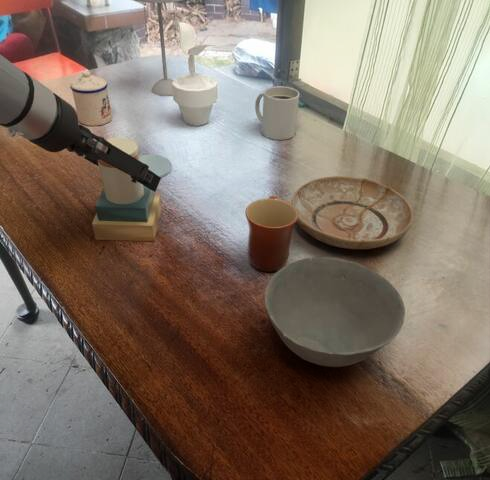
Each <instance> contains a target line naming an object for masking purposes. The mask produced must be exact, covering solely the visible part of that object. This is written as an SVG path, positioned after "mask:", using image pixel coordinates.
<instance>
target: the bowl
mask: <svg viewBox="0 0 490 480" xmlns="http://www.w3.org/2000/svg"><path fill="white" fill-rule="evenodd" d="M264 307H265V310H266V313H267V315H268V318H269V320H270V323H271V324H272V326H273V328H274V330H275V332H276V333H277V335H278V336H279V338H280V340H282V342H283V343H284V344H285V346H286V347H287V348H288V349H289V350H290V351H291V352H293V353H294V354H295V355H296V356H298V357H299V358H301V359H302V360H304V361H306V362H308V363H311V364H313V365H314V364H315V365H316V366H321V367H328V368H329V367H330V368H341V367H347V366H352V365H355V364H358V363H360V362H362V361H364V360H366V359H368V358H369V357H371V356H373V355H374V354H376V353H377V352H378V351H380V350H381V349H383V348H385V347H386V346H387V345H388V344H390V343H391V342H392V341H393V340H394V339H395V338H396V337H397V336H398V335H399V333H400V332H401V329H402V327H403V326H404V322H405V317H406V307H405V303H404V300H403V299H402V297H401V293H399V292H398V290H397V289H396V287H394V285H393V284H392V283H391V282H390V281H389V280H387V279H386V278H385V277H383V275H381V274H379V273H378V272H376V271H374V270H373V269H371V268H369V267H368V266H365V265H363V264H362V263H358V262H356V261H351V260H348V259H345V258H339V257H333V256H332V257H330V256H329V257H328V256H315V257H306V258H302V259H297V260H295V261H293V262H290V263H288V264H286V265H285V266H284V267H283V268H281V269H279V270H277V271H275V273H274V274H273V275H272V277H271V278H270V280H268V283H267V284H266V288H265V291H264Z"/></svg>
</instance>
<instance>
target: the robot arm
mask: <svg viewBox="0 0 490 480" xmlns="http://www.w3.org/2000/svg"><path fill="white" fill-rule="evenodd" d="M0 126H1V127H4V128H6V129H7V132H6V133H7V135H8V136H10V137H12V138H14V137H16V135H18V136H19V137H21V138H24V139H26V140H28V142H30V143H32V144H33V145H35V146H37V147H39V148H41V149H43V150H45V151H47V152H49V153H60V152H62V151H64V150H67V151H68V152H69V153H75V154H76V155H77V156H79V157H82V158H83V159H84V160H86V161H87V162H90V163H92V164H93V165H95V166H97V167H98V168H99V166H98V162H97V160H99V159H100V160H102V161H103V162H105V163H107V164H109V165H111V166H113V167H115V168H117V169H119V170H120V171H122V172H124V173H126V174H128V175H130V176H131V178H132V182H134V183H136V182H139V183H141V184H142V185H144V186H145V187H147V188H149V189H150V190H152V191H154V193H156V191H157V189H158V187H159V184H160V182H161V180H162V178H161V177H159V176H158V175H156V174H155V173H153V172H152V171H150V170H149V166H147V164H144V163H142V162H140V161H139V160H137V159H135V158H134V157H132V156H130V155H129V154H127V153H125V152H124V151H122V150H121V149H119V148H117V147H116V146H114V145H112V144H111V143H109V142H108V141H106V139H105V137H104V136H99V135H96V134H95V133H93V132H92V131H91V130H90V128H88V127H86V126H84V125H83V124H81V123H80V124H79V118H78V114H77V110H76V108H74V106H73V105H72V104H70V103H69V102H68V101H66V100H65V99H63V98H62V97H61V96H59V95H58V94H56V93H54V92H53V91H52V90H51V89H50V88H48V87H47V86H45V85H44V84H43V83H42V82H40V81H39V80H37V79H36V78H35V77H33V76H32V75H31V74H29V73H27V72H25V71H24V70H22V68H21V69H20V68H19V67H18V66H16V64H14V63H12V62H11V61H10V60H8V59H7V58H6V57H5V56H3V55H2V54H0Z"/></svg>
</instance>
